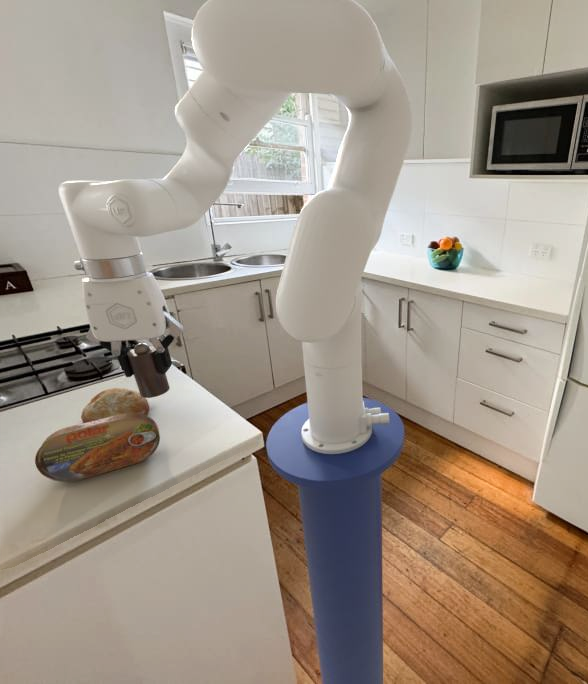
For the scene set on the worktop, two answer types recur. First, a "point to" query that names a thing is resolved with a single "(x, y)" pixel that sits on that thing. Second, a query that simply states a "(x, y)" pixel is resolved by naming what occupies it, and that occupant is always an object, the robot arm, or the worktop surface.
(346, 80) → the robot arm
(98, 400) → the bread roll
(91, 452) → the tin
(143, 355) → the pepper mill
